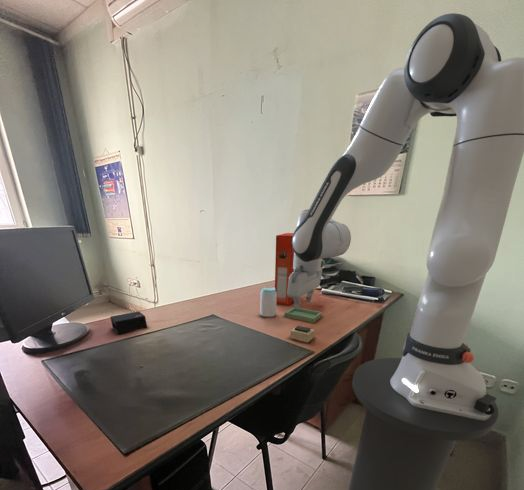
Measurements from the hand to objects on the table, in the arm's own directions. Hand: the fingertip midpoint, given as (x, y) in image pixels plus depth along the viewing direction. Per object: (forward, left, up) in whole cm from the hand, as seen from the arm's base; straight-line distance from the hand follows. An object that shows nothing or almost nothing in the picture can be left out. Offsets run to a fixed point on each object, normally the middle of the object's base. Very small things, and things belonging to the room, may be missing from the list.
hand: (303, 304), depth 99 cm
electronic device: (+59, +28, -13) cm, 67 cm away
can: (+22, -15, -13) cm, 30 cm away
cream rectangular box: (-1, 0, -13) cm, 13 cm away
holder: (+8, -22, -13) cm, 27 cm away
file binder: (+26, -41, -13) cm, 50 cm away
